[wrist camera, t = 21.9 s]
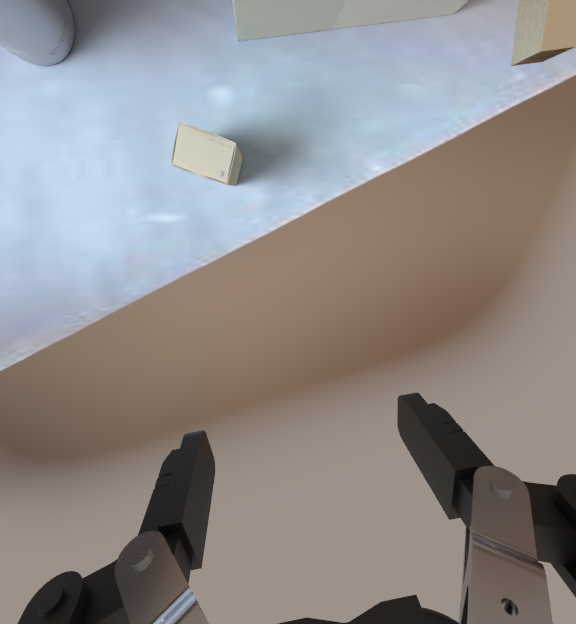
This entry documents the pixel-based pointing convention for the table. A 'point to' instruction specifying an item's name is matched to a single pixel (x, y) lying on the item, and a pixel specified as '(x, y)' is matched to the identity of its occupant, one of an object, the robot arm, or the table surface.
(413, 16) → the stepped stand
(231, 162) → the skincare box
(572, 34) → the mallet
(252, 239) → the table surface
